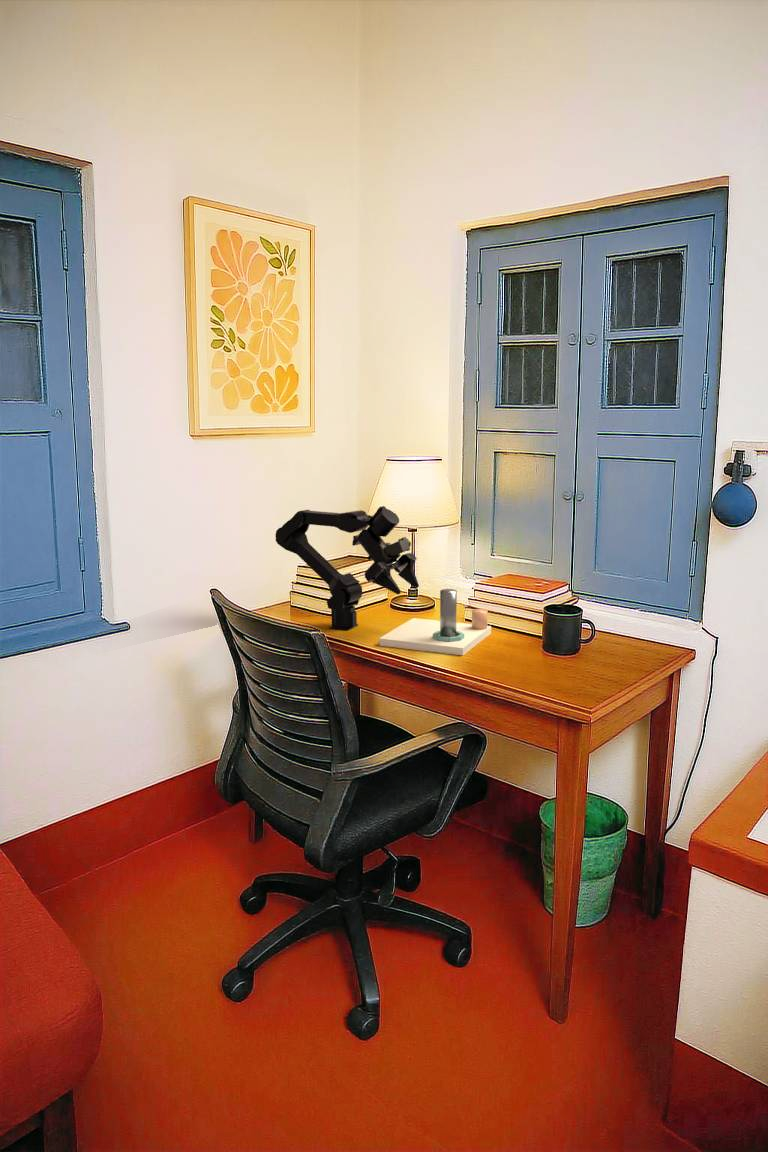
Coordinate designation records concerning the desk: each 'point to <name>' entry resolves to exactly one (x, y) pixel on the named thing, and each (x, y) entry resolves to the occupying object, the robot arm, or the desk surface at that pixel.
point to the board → (433, 637)
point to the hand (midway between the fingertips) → (408, 590)
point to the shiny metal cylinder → (448, 612)
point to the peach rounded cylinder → (479, 619)
